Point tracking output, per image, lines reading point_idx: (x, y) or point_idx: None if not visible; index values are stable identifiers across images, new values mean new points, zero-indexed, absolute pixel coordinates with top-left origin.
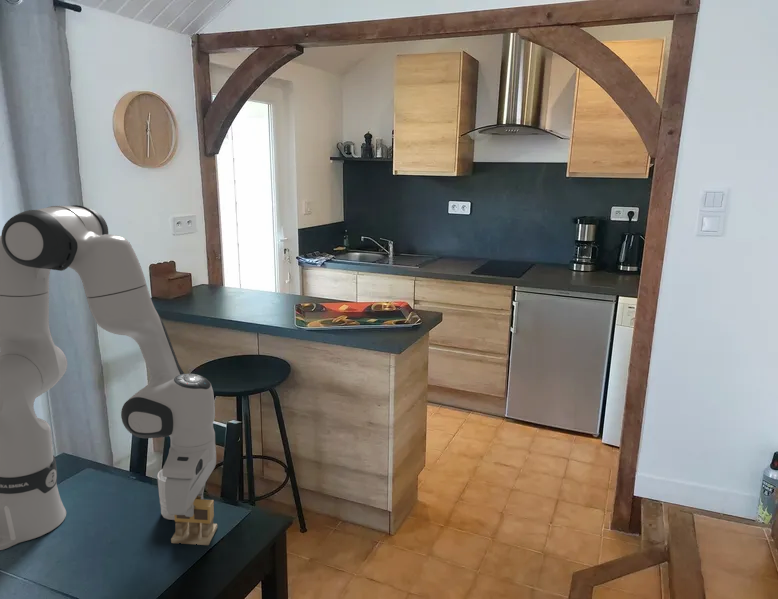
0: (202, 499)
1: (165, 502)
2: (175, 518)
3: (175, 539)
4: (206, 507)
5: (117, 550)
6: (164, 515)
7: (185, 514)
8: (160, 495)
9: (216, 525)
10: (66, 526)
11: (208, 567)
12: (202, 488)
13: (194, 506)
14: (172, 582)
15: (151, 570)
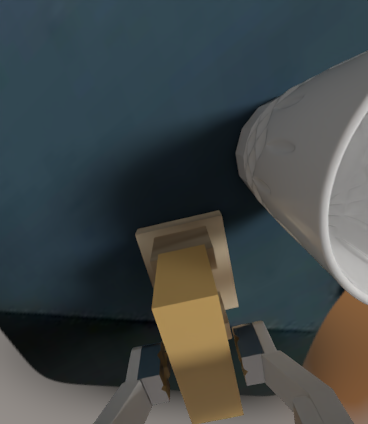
0: (235, 384)
1: (254, 153)
2: (157, 265)
3: (139, 246)
4: (190, 413)
5: (32, 87)
6: (242, 134)
7: (132, 354)
8: (280, 115)
9: (231, 307)
10: None
11: (99, 346)
12: (290, 407)
13: (162, 401)
14: (20, 310)
15: (23, 246)
